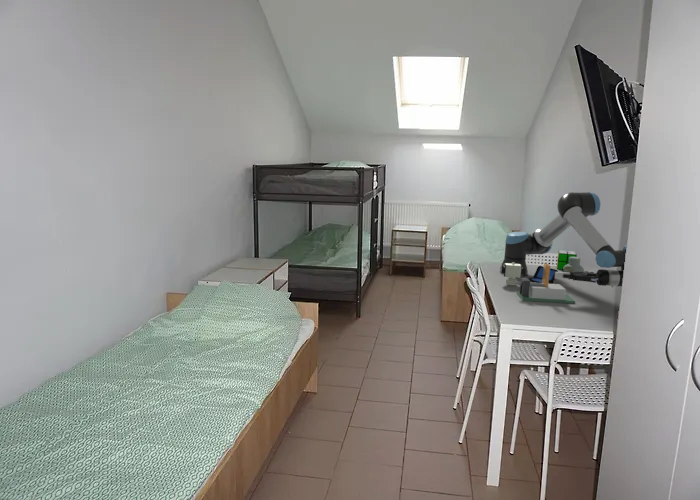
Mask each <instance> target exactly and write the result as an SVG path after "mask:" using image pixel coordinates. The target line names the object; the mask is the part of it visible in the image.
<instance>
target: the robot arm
mask: <svg viewBox="0 0 700 500" xmlns="http://www.w3.org/2000/svg"><path fill="white" fill-rule="evenodd" d="M600 209H601V199H600V198H599V196H598V194H596V193H594V192H589V191H588V192H571V191H570V192H567V193H566V192H565V194H563V195H562V196H561V197H560V198H559V199H558V201H557V211H558V215H557V216H555V217H554V218H553V219H552V220H551V221H550V222H548V223H547V224H545V226H544V227H543V228H537V229H536V230H535V231H534V232H532V233H530V234H529V233H528V232H526V231H513V232H509V233H507V235H506V237H505V245H504V246H505V247H504V258H503V261H502V263H501V265H504V263H510V264H512V262H514V264H522V266H523V267H525V274H524V275H522V277H524V276H525V277H526V276H528V266H527V261H526V259H527V255H528V256H529V255H544V254H547V253H549V252H550V251H551V249H552V246H553V242H554V240H555V239H557V238H558V237H559V236H560V235H561V234H562V233H564V232H565V231H566V230H567V229H569V228H570V227H571V226H572V228H573V229H574V230H575V232H576V233H577V234H578V235H579V236H580V238H581V239H582V240H583V241H584V242H585V244H586V245H587V247H589V248H590V250H591V251H592V252H593V253H594V255H595V261H596V264H597V266H598V267H600V269H598V270H597V271H596V272H595V273H594V272H593V271H587V270H584V272H571V271H570V272H569V273H568V272H564V271H558V272H555V279H563V280H573V281H577V282H588V283H594V284H595V283H596V284H597V285H598V286H604V287H606V286H608V287H611V288H614V287H622V278H623V270H624V262H625V253H626V245H627V244H625V245H624V246H623V249H621V250H615V249H614V248H613V247H612V246H611V244H610V243H609V242H608V241H607V240H606V239H605V238H604V237H603V235H602V234H601V233H600V231H598V229H597V228H596V227H595V226H594V225H593V224H592V222H590V220H589V219H588V218H587V217H589V216H590V217H591V216H592V217H593V216H595V215H597V214H598V213H599V212H600ZM617 267H618V268H620V269H619V270H618V269H610V268H617ZM602 268H603V269H602ZM604 268H607V269H604ZM500 270H501V266H500V268H499V271H500Z"/></svg>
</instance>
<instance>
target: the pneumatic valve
mask: <svg viewBox="0 0 700 500" xmlns="http://www.w3.org/2000/svg"><path fill="white" fill-rule="evenodd" d="M500 267H501V270H500V269H499V273H500V274H501V275H502V276H503V277H504V278H505V277H506V279H505V283H506V285H508V286H510V287H511V286H512V287H513V286H516V285H517V284H516V281H518V280H517V279H516V278H519V279H521V278H523V276H522V275H524V274H525V267H523V266H522V264H514V262H512V264H510V263H504V265H502V264H501V265H500Z"/></svg>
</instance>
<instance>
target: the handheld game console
mask: <svg viewBox="0 0 700 500" xmlns="http://www.w3.org/2000/svg"><path fill="white" fill-rule="evenodd" d="M543 268H544V266H541V265H538V266H537V268H536V270H535V272H534V275H533V276H532V277H527V278H528V279H529V280H530V282H537V283H542V278H543ZM555 272H559V269H555V268H551V267H550V274H549V283H548V284H554V281H555V279H556V278H555Z"/></svg>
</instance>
